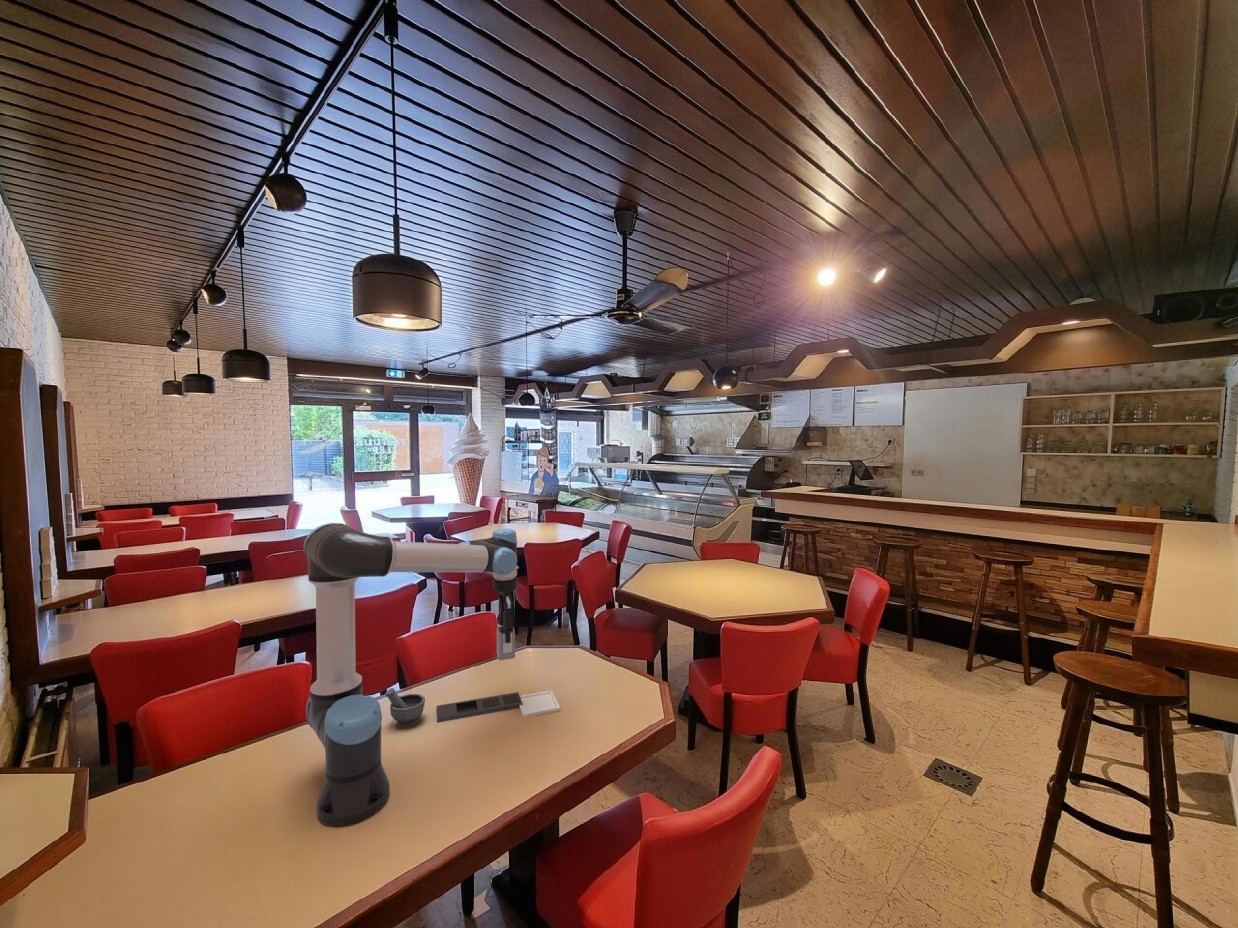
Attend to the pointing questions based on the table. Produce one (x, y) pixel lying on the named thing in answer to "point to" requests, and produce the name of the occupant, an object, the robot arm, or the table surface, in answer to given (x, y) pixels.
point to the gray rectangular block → (500, 645)
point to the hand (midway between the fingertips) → (505, 648)
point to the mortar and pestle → (405, 708)
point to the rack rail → (478, 706)
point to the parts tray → (539, 704)
